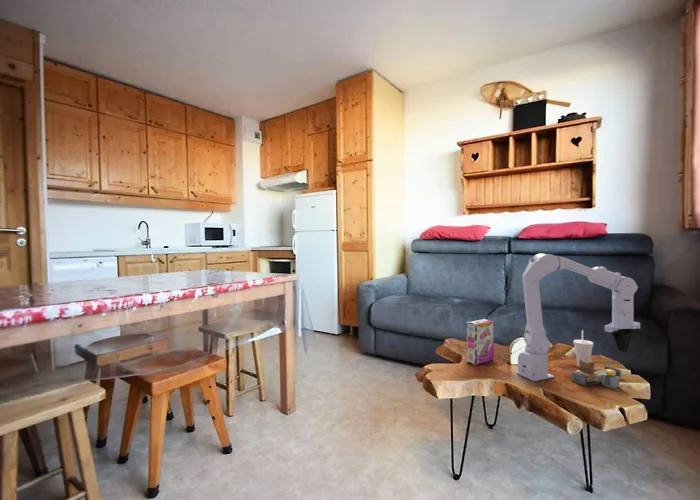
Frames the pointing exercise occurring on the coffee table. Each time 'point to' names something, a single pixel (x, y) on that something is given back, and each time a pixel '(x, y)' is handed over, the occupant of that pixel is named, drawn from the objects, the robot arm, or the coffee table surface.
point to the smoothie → (583, 349)
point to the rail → (583, 380)
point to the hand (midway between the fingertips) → (622, 350)
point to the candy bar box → (480, 341)
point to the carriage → (587, 370)
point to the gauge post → (613, 381)
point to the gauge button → (610, 373)
